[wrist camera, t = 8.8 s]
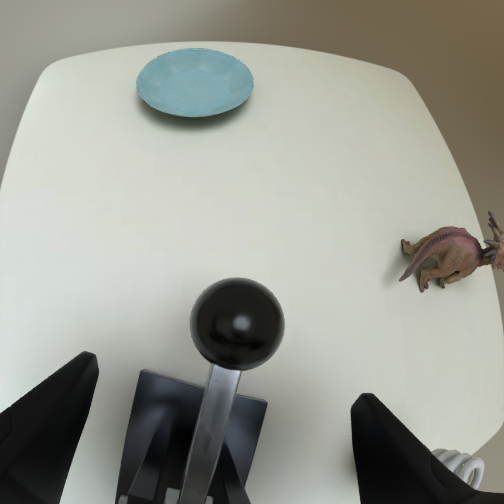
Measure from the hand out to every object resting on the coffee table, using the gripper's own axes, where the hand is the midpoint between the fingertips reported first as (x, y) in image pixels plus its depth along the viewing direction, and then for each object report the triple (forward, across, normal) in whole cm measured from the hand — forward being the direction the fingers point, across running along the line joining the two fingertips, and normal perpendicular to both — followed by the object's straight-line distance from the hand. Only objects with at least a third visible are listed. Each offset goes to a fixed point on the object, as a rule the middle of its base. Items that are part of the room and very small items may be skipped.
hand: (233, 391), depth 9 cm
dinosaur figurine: (+17, -20, 0) cm, 26 cm away
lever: (+1, 0, +4) cm, 5 cm away
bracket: (+3, +1, +14) cm, 14 cm away
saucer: (+26, +7, -9) cm, 29 cm away
